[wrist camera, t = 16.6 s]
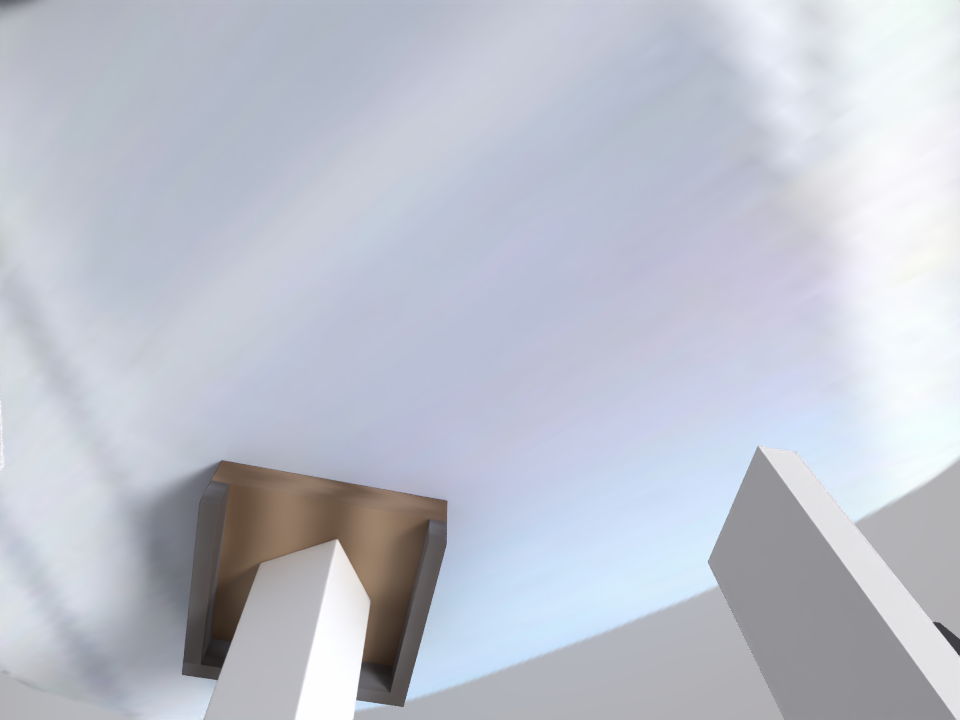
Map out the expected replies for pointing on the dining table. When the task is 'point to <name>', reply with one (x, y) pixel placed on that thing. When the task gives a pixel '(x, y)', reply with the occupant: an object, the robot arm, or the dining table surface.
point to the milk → (296, 641)
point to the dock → (303, 524)
